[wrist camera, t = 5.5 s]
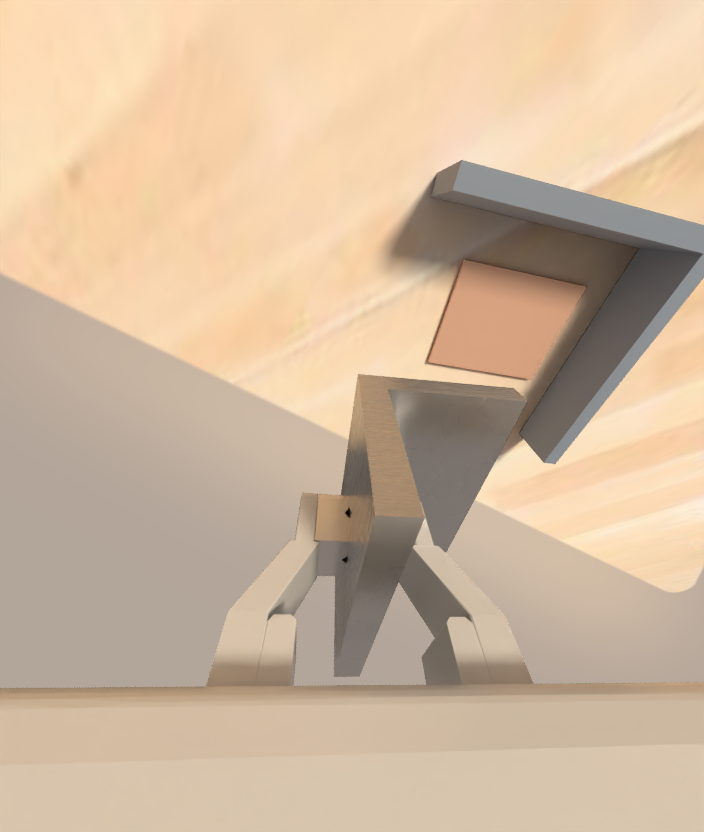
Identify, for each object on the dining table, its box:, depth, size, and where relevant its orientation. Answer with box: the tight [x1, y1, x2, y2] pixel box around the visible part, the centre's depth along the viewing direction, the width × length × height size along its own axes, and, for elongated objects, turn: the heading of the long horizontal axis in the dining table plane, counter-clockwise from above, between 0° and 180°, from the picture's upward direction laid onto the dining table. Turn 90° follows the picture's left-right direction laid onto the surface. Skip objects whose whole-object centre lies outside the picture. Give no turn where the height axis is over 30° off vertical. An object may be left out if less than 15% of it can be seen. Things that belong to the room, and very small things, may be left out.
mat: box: [428, 260, 586, 379], centre depth 23 cm, size 10×8×1 cm
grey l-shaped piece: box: [431, 160, 704, 464], centre depth 22 cm, size 17×18×4 cm
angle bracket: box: [334, 374, 527, 677], centre depth 9 cm, size 8×5×5 cm, turn 173°
